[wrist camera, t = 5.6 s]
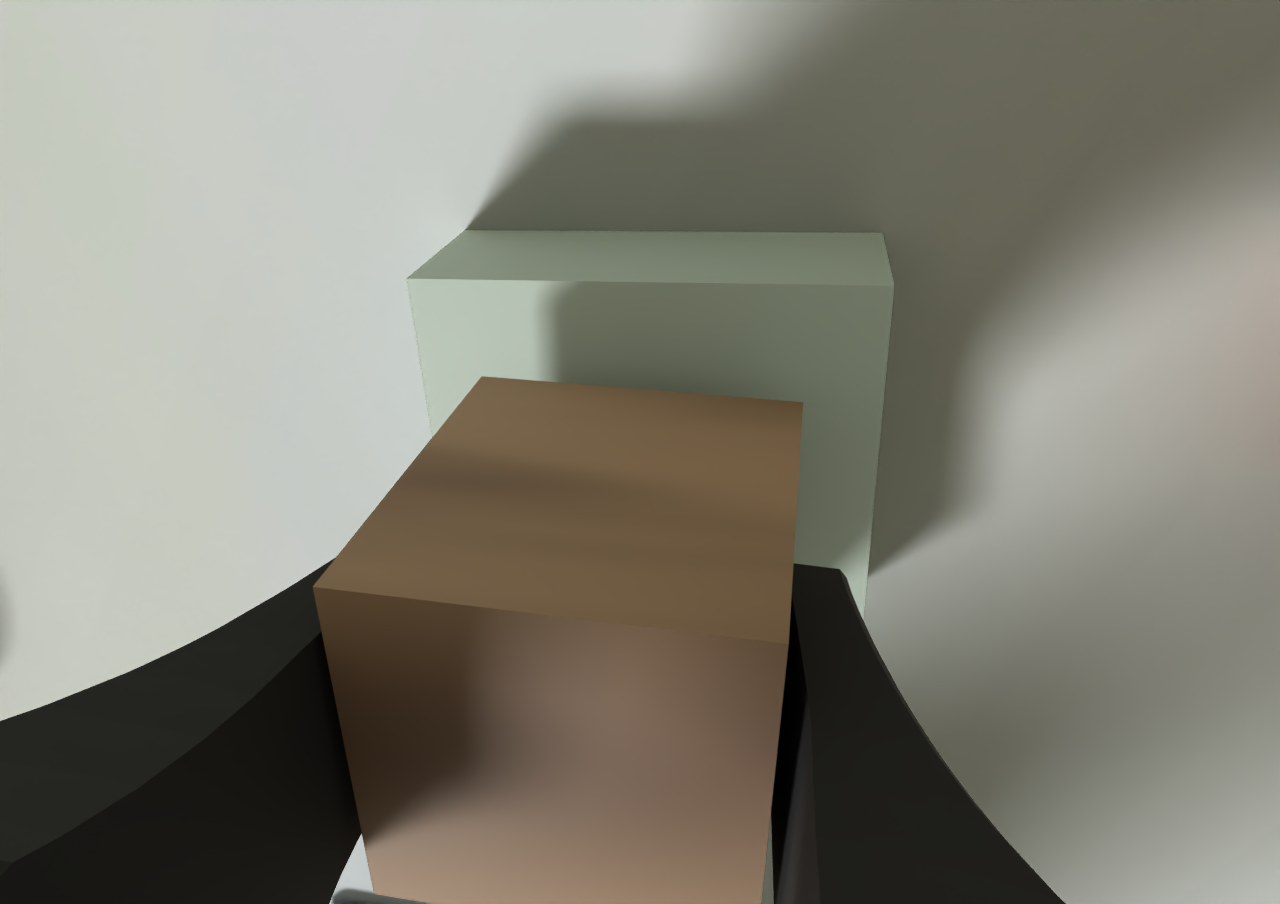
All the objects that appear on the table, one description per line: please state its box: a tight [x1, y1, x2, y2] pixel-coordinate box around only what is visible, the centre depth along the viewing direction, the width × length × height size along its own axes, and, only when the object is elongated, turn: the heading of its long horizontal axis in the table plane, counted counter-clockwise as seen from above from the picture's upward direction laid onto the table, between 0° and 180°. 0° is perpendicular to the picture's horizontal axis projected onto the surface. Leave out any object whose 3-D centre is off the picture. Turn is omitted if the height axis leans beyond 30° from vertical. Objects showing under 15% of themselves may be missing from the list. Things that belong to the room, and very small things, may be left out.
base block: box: [406, 230, 894, 619], centre depth 16 cm, size 7×7×3 cm
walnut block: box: [313, 376, 803, 904], centre depth 12 cm, size 4×4×5 cm
